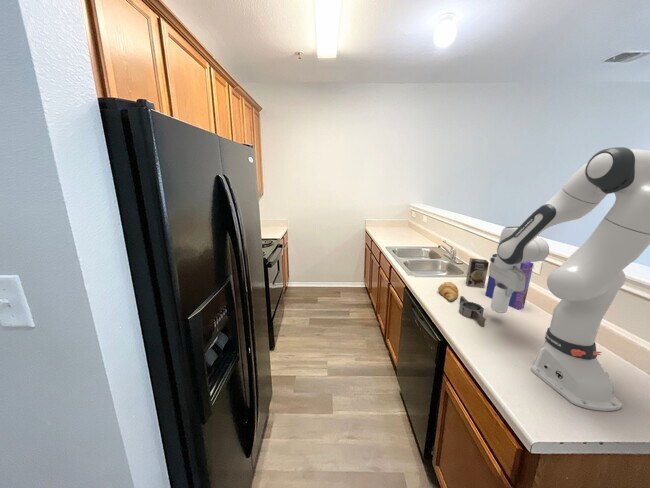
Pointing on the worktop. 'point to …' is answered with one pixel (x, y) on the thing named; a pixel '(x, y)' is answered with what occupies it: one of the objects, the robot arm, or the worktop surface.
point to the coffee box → (477, 273)
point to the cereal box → (517, 297)
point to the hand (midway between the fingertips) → (503, 293)
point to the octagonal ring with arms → (477, 316)
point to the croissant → (448, 290)
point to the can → (500, 298)
